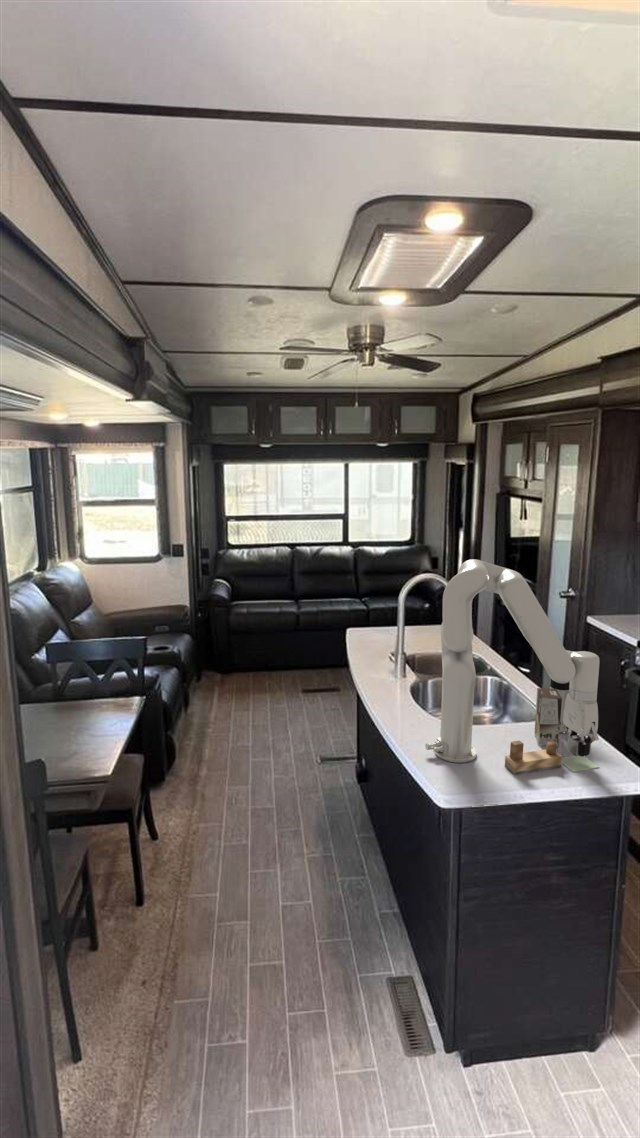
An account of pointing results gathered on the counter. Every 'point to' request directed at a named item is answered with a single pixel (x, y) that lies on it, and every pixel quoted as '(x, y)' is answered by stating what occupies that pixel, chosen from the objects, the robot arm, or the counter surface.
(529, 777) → the counter surface
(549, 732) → the coffee box
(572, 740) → the lever cap
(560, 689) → the spray can
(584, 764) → the felt pad
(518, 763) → the wooden peg block
